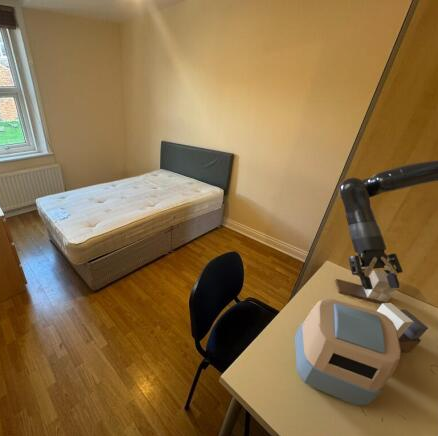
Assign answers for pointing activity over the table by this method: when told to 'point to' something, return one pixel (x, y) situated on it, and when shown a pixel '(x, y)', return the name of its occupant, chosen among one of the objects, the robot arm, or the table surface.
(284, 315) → the table surface
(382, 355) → the alarm clock
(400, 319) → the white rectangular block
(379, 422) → the table surface
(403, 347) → the grey shelf
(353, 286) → the brown base with block
